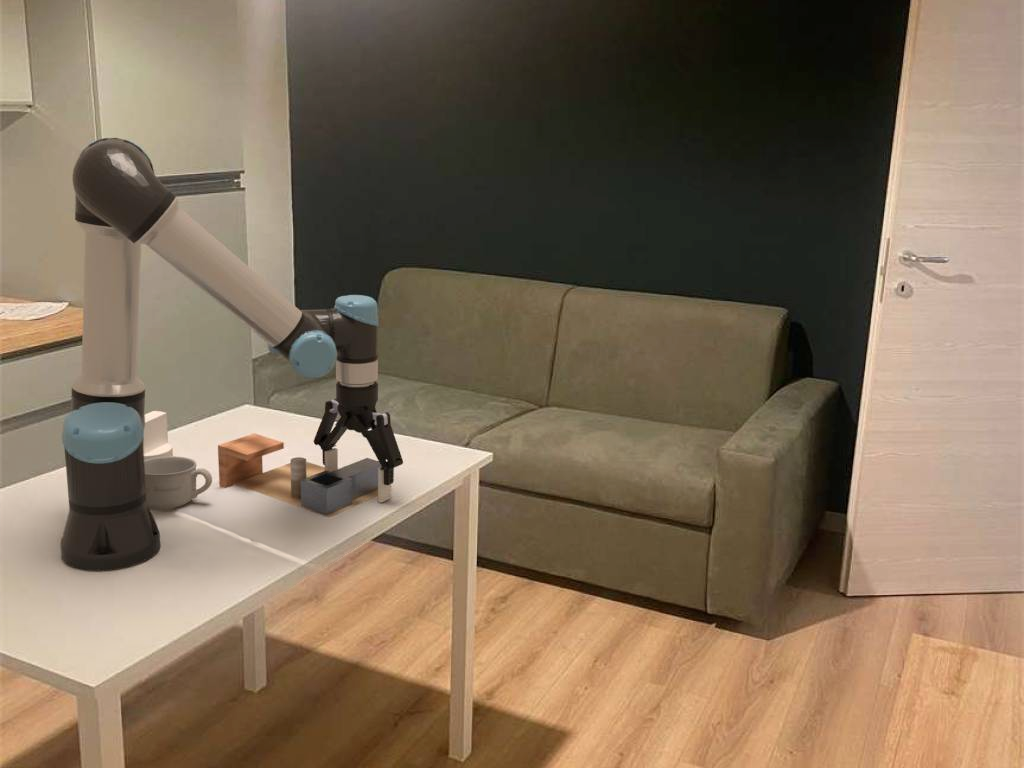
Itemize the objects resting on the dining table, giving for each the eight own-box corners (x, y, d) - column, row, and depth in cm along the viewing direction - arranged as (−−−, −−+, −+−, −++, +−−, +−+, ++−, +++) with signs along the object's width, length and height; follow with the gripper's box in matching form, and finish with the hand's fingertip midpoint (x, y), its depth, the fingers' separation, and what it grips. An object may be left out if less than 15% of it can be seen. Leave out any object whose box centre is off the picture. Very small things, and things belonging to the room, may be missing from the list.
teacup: (122, 510, 187) (119, 468, 185) (162, 490, 197) (159, 449, 194) (188, 524, 182) (186, 481, 180) (225, 502, 192) (223, 461, 190)
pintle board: (325, 524, 185) (324, 480, 182) (219, 486, 199) (217, 445, 197) (392, 494, 199) (393, 453, 197) (289, 460, 214) (288, 422, 211)
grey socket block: (327, 515, 186) (326, 488, 184) (301, 506, 189) (300, 480, 188) (387, 488, 199) (387, 464, 197) (362, 480, 202) (362, 456, 201)
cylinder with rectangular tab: (154, 489, 197) (150, 428, 193) (114, 481, 199) (110, 421, 196) (183, 473, 205) (180, 414, 202) (144, 466, 208) (141, 408, 204)
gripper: (423, 390, 187) (421, 501, 193) (322, 364, 200) (323, 469, 206) (395, 399, 181) (394, 514, 187) (293, 372, 194) (295, 480, 200)
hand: (357, 491), depth 197 cm, fingers open, 13 cm apart
